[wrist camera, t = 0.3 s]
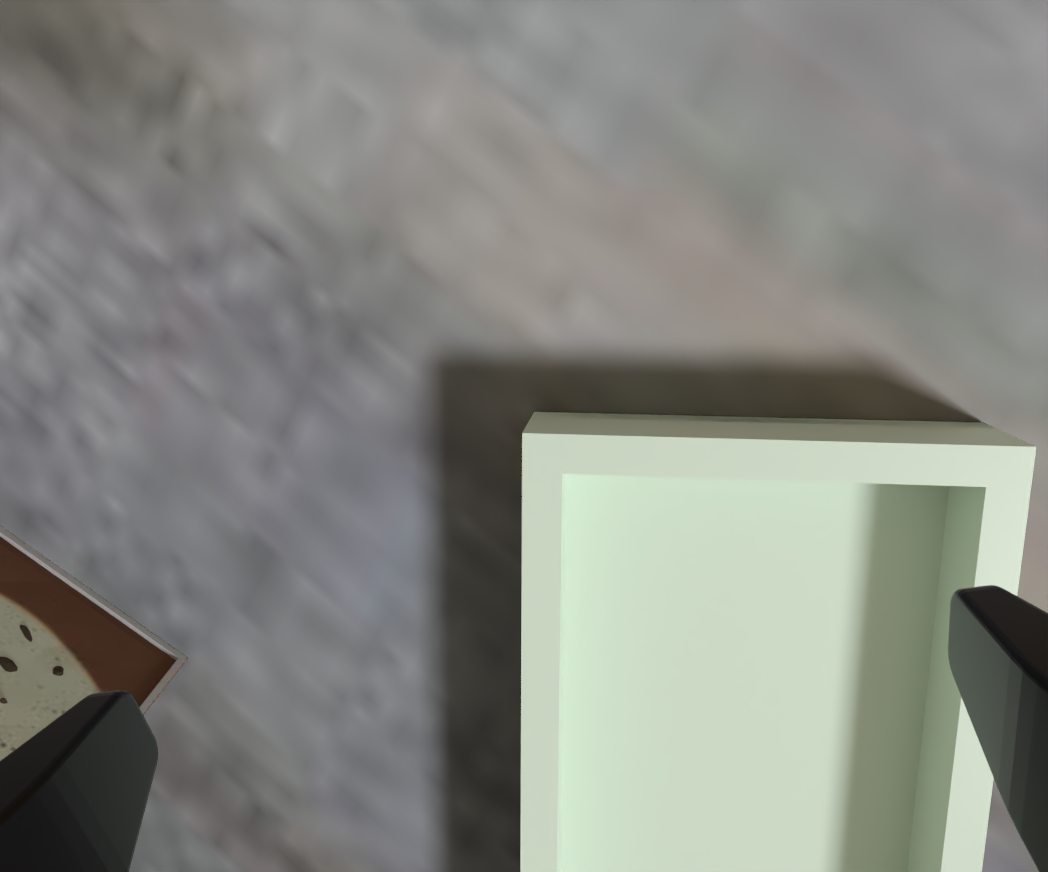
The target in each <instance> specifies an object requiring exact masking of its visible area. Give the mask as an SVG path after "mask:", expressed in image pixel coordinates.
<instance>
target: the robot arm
mask: <svg viewBox="0 0 1048 872" xmlns="http://www.w3.org/2000/svg"><path fill="white" fill-rule="evenodd" d="M948 659H949V664H950V668H951V672H952V675H953V677H954V680H955V682H956V685H957V687H958V690H959V692H960V695H961V697H962V700H963V702H964V705H965V707H966V710H967V712H968V715H969V717H970V720H971V722H972V725H973V727H974V730H975V732H976V735H977V737H978V740H979V742H980V745H981V747H982V750H983V752H984V755H985V757H986V760H987V762H988V765H989V767H990V770H991V772H992V775H993V777H994V780H995V782H996V785H997V787H998V790H999V792H1000V794H1001V797H1002V799H1003V802H1004V804H1005V806H1006V809H1007V811H1008V813H1009V815H1010V817H1011V819H1012V821H1013V823H1014V825H1015V827H1016V829H1017V831H1018V833H1019V835H1020V837H1021V839H1022V841H1023V842H1024V844H1025V846H1026V848H1027V850H1028V852H1029V854H1030V856H1031V857H1032V859H1033V861H1034V863H1035V865H1036V867H1037V869H1038V870H1039V872H1048V613H1046V612H1045V611H1043V610H1041V609H1039V608H1037V607H1036V606H1034V605H1032V604H1030V603H1028V602H1027V601H1025V600H1023V599H1021V598H1019V597H1018V596H1016V595H1014V594H1012V593H1010V592H1009V591H1007V590H1005V589H1003V588H1001V587H999V586H995V585H987V586H978V587H970V588H962V589H958V590H957V591H955V592H954V593H953V595H952V597H951V601H950V617H949V636H948ZM157 760H158V747H157V743H156V740H155V737H154V735H153V733H152V731H151V729H150V727H149V726H148V724H147V722H146V720H145V718H144V716H143V714H142V712H141V710H140V708H139V706H138V704H137V702H136V700H135V699H134V697H133V696H132V695H131V694H130V693H129V692H127V691H123V690H115V691H107V692H99V693H94V694H91V695H88V696H86V697H85V698H84V699H82V700H81V701H80V702H78V703H77V704H75V705H74V706H73V707H71V708H70V709H69V710H67V711H66V712H65V713H63V714H62V715H61V716H59V717H58V718H57V719H55V720H54V721H53V722H51V723H50V724H49V725H47V726H46V727H45V728H43V729H42V730H41V731H39V732H38V733H37V734H35V735H34V736H33V737H31V738H30V739H29V740H27V741H26V742H25V743H23V744H22V745H21V746H19V747H18V748H17V749H15V750H14V751H13V752H11V753H10V754H9V755H7V756H6V757H5V758H3V759H2V760H1V761H0V872H129V868H130V865H131V861H132V857H133V853H134V849H135V845H136V842H137V838H138V834H139V830H140V826H141V823H142V819H143V815H144V811H145V807H146V803H147V800H148V796H149V792H150V788H151V784H152V780H153V777H154V773H155V769H156V765H157Z"/></svg>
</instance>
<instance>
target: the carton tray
mask: <svg viewBox="0 0 1048 872" xmlns="http://www.w3.org/2000/svg"><path fill="white" fill-rule="evenodd" d="M1035 453H1036V446H1033V445H1031V444H1029V443H1027V442H1025V441H1023V440H1020V439H1018V438H1016V437H1014V436H1012V435H1009V434H1007V433H1005V432H1003V431H1001V430H999V429H996V428H994V427H992V426H990V425H988V424H986V423H981V422H939V421H898V420H856V419H814V418H773V417H731V416H689V415H648V414H606V413H564V412H534V413H533V415H532V417H531V418H530V420H529V422H528V424H527V425H526V427H525V429H524V431H523V433H522V602H521V845H520V872H982V864H983V857H984V849H985V841H986V833H987V825H988V818H989V810H990V802H991V794H992V787H993V779H994V777H993V775H992V772H991V770H990V767H989V765H988V762H987V760H986V757H985V755H984V752H983V750H982V747H981V745H980V742H979V740H978V737H977V735H976V732H975V730H974V727H973V725H972V722H971V720H970V717H969V715H968V712H967V710H966V707H965V705H964V702H963V700H962V697H961V695H960V692H959V690H958V687H957V685H956V682H955V680H954V677H953V675H952V672H951V668H950V664H949V659H948V636H949V617H950V601H951V597H952V595H953V593H954V592H955V591H957V590H958V589H962V588H970V587H978V586H987V585H995V586H999V587H1001V588H1003V589H1005V590H1007V591H1009V592H1010V593H1012V594H1014V595H1016V596H1017V593H1018V585H1019V577H1020V569H1021V561H1022V554H1023V546H1024V538H1025V530H1026V523H1027V515H1028V507H1029V499H1030V492H1031V484H1032V476H1033V468H1034V460H1035Z"/></svg>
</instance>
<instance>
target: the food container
mask: <svg viewBox="0 0 1048 872" xmlns="http://www.w3.org/2000/svg"><path fill="white" fill-rule="evenodd" d="M187 659H188V658H187V657H185V656H184V655H183V654H181V653H180V652H178V651H177V650H176V649H174V648H173V647H171V646H170V645H168V644H167V643H166V642H164V641H163V640H161V639H160V638H159V637H157V636H156V635H154V634H153V633H151V632H150V631H149V630H147V629H146V628H144V627H143V626H142V625H140V624H139V623H137V622H136V621H134V620H133V619H132V618H130V617H129V616H127V615H126V614H125V613H123V612H122V611H120V610H119V609H117V608H116V607H115V606H113V605H112V604H110V603H109V602H107V601H106V600H105V599H103V598H102V597H100V596H99V595H98V594H96V593H95V592H93V591H92V590H90V589H89V588H88V587H86V586H85V585H83V584H82V583H81V582H79V581H78V580H76V579H75V578H73V577H72V576H71V575H69V574H68V573H66V572H65V571H64V570H62V569H61V568H59V567H58V566H56V565H55V564H54V563H52V562H51V561H49V560H48V559H47V558H45V557H44V556H42V555H41V554H39V553H38V552H37V551H35V550H34V549H32V548H31V547H30V546H28V545H27V544H25V543H24V542H22V541H21V540H20V539H18V538H17V537H15V536H14V535H12V534H11V533H10V532H8V531H7V530H5V529H4V528H3V527H1V526H0V761H1V760H2V759H3V758H5V757H6V756H7V755H9V754H10V753H11V752H13V751H14V750H15V749H17V748H18V747H19V746H21V745H22V744H23V743H25V742H26V741H27V740H29V739H30V738H31V737H33V736H34V735H35V734H37V733H38V732H39V731H41V730H42V729H43V728H45V727H46V726H47V725H49V724H50V723H51V722H53V721H54V720H55V719H57V718H58V717H59V716H61V715H62V714H63V713H65V712H66V711H67V710H69V709H70V708H71V707H73V706H74V705H75V704H77V703H78V702H80V701H81V700H82V699H84V698H85V697H86V696H88V695H91V694H94V693H99V692H107V691H115V690H123V691H127V692H129V693H130V694H131V695H132V696H133V697H134V699H135V700H136V702H137V704H138V706H139V708H140V710H141V712H142V714H143V715H144V714H145V712H146V711H147V710H148V708H149V707H150V706H151V705H152V703H153V702H154V701H155V700H156V698H157V697H158V696H159V694H160V693H161V692H162V691H163V689H164V688H165V687H166V686H167V684H168V683H169V682H170V680H171V679H172V678H173V677H174V675H175V674H176V673H177V672H178V670H179V669H180V668H181V666H182V665H183V664H184V663H185V661H186V660H187Z"/></svg>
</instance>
